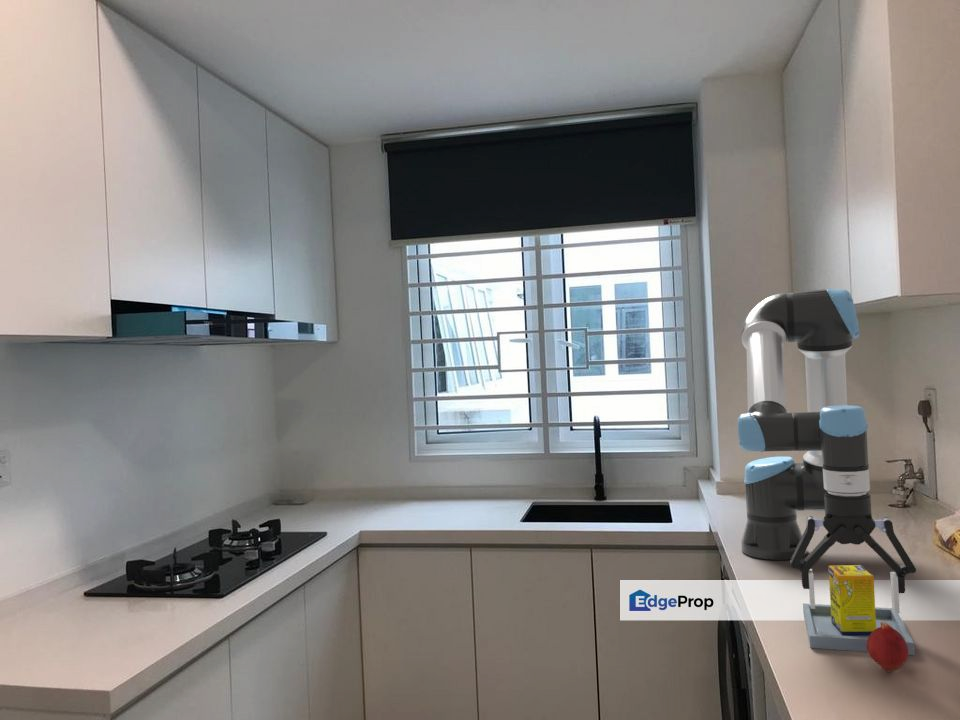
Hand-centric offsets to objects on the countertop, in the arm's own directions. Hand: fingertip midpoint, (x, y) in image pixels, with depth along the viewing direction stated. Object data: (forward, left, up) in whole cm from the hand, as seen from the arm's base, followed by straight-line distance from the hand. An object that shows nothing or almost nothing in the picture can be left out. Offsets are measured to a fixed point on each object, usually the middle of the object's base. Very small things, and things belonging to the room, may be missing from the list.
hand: (853, 608), depth 133 cm
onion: (+15, +3, -5) cm, 16 cm away
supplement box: (0, 0, -4) cm, 4 cm away
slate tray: (0, 0, -4) cm, 4 cm away
